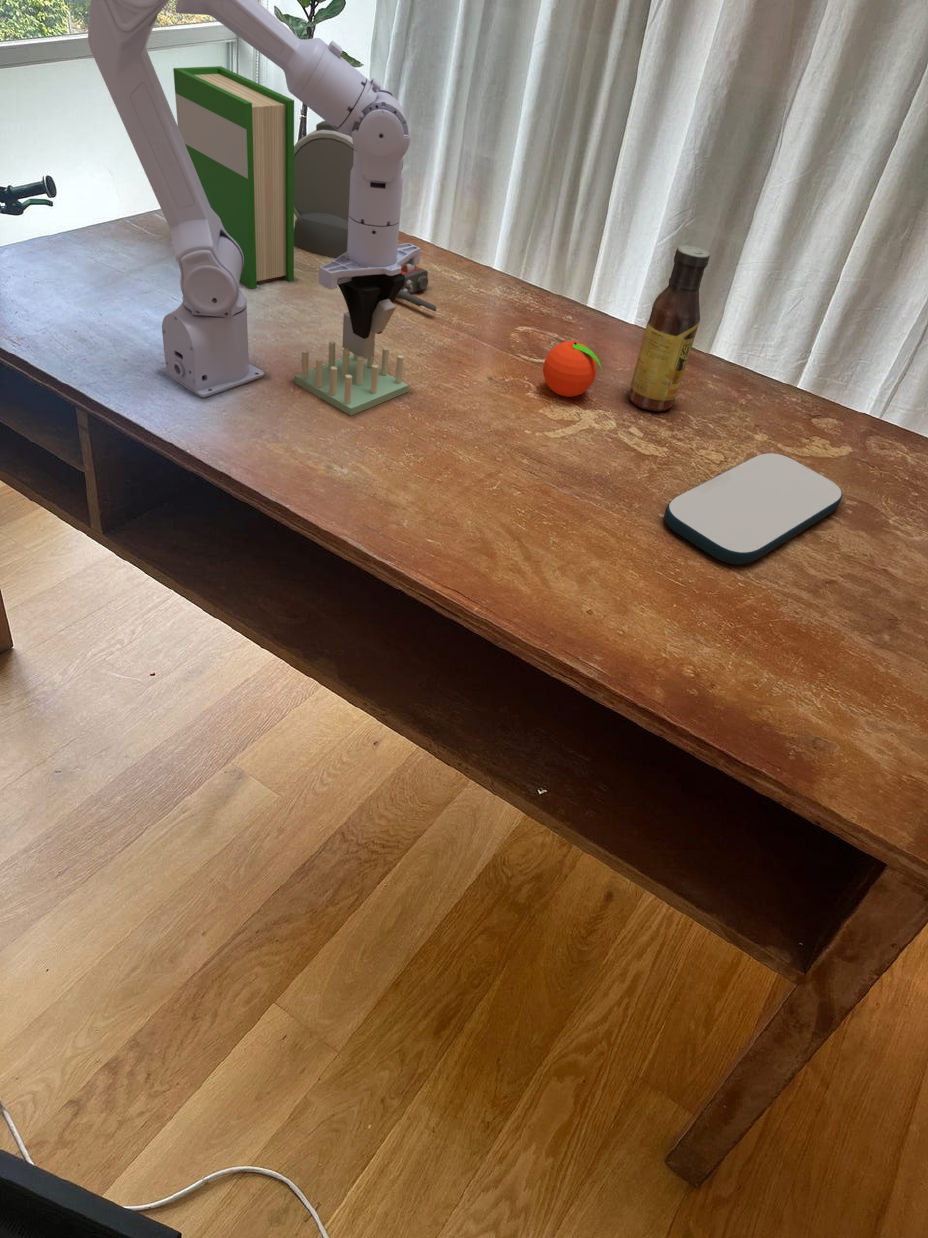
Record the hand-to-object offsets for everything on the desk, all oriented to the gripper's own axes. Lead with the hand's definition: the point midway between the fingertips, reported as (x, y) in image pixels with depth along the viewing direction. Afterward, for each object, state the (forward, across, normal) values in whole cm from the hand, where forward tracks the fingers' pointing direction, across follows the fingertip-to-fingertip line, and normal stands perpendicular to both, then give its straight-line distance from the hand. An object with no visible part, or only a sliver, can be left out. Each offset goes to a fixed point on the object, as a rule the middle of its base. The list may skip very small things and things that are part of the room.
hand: (367, 332), depth 109 cm
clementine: (+7, +20, -18) cm, 28 cm away
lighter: (+3, 0, 0) cm, 3 cm away
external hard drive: (+7, +15, -48) cm, 51 cm away
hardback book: (+7, +11, +38) cm, 40 cm away
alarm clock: (+7, +29, +36) cm, 47 cm away
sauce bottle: (+7, +28, -26) cm, 39 cm away
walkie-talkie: (+7, +25, +18) cm, 31 cm away
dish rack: (+7, -2, 0) cm, 7 cm away
